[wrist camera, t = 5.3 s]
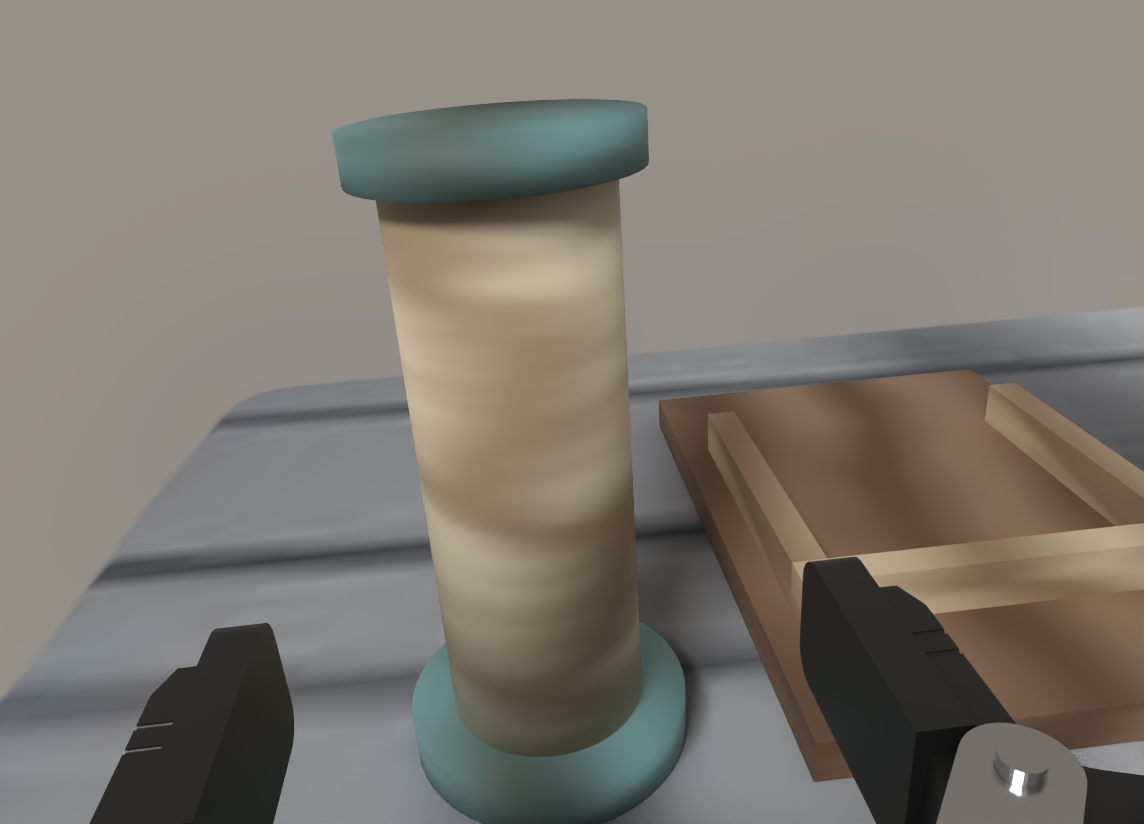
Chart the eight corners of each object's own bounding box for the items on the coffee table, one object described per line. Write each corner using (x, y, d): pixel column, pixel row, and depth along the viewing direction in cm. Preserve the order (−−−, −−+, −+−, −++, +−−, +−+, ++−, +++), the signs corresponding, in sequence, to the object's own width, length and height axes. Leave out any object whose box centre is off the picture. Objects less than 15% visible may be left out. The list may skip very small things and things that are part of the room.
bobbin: (659, 623, 27) (640, 88, 20) (714, 813, 20) (712, 122, 14) (426, 649, 26) (335, 114, 20) (408, 851, 20) (266, 160, 14)
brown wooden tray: (967, 393, 40) (974, 337, 39) (1372, 711, 22) (1407, 621, 21) (659, 425, 39) (657, 368, 38) (814, 781, 21) (819, 692, 20)
